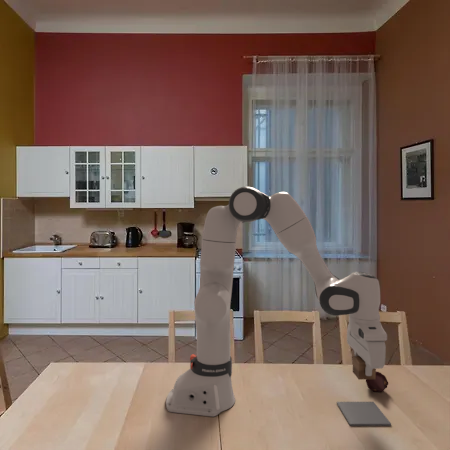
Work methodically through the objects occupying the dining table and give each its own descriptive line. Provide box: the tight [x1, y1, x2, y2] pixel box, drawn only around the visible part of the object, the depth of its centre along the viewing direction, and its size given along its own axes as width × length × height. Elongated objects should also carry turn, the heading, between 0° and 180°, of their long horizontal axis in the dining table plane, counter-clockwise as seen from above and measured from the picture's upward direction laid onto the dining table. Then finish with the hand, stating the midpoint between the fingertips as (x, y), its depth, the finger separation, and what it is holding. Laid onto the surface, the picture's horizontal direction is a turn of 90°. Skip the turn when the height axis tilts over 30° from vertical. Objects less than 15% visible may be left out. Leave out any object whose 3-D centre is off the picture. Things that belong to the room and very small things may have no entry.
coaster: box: [336, 401, 392, 427], centre depth 109 cm, size 12×12×1 cm
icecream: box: [365, 370, 389, 393], centre depth 123 cm, size 7×7×15 cm
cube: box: [352, 355, 377, 381], centre depth 109 cm, size 5×5×5 cm
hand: (363, 370), depth 109 cm, fingers closed on cube, 5 cm apart
